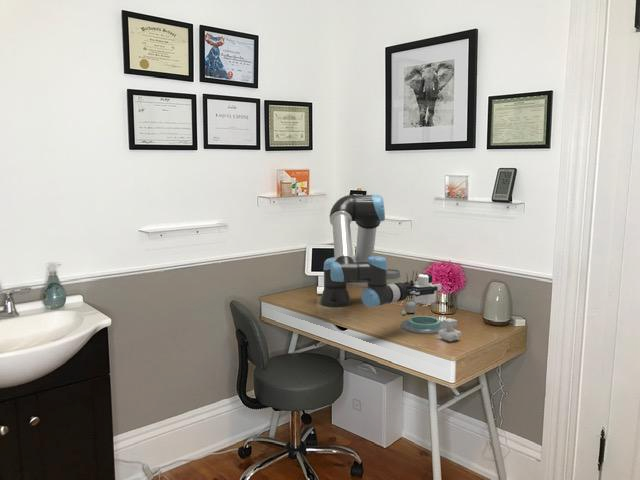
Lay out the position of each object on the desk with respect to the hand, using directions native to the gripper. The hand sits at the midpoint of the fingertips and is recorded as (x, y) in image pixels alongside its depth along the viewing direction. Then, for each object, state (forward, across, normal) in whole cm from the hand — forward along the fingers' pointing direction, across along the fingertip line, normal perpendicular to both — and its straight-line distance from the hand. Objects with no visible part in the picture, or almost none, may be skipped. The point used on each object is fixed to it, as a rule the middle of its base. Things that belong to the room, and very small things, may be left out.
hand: (432, 285), depth 233 cm
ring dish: (-5, 0, -18) cm, 18 cm away
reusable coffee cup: (+16, -44, -18) cm, 50 cm away
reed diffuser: (+6, -18, -18) cm, 26 cm away
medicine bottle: (-5, 0, -7) cm, 8 cm away
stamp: (-9, +18, -18) cm, 27 cm away
